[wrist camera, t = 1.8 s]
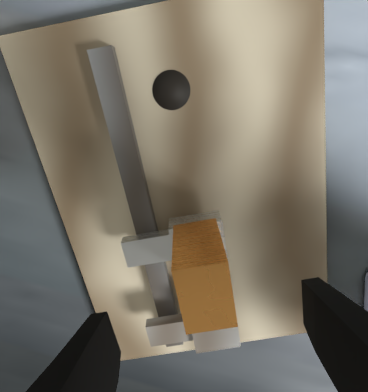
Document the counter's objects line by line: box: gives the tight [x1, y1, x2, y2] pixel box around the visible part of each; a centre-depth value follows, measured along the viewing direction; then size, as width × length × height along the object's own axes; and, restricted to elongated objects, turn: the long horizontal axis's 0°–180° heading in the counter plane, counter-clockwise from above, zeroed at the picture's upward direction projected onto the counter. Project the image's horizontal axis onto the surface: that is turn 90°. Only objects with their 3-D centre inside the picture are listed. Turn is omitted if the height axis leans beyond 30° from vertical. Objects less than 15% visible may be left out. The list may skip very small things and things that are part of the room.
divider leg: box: [121, 210, 238, 335], centre depth 15 cm, size 6×3×7 cm, turn 100°
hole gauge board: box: [0, 0, 327, 361], centre depth 17 cm, size 16×22×4 cm
